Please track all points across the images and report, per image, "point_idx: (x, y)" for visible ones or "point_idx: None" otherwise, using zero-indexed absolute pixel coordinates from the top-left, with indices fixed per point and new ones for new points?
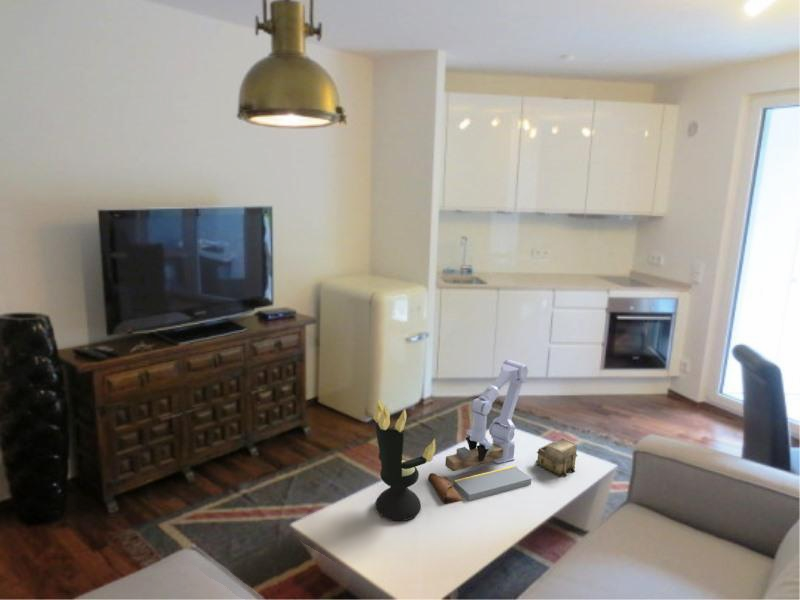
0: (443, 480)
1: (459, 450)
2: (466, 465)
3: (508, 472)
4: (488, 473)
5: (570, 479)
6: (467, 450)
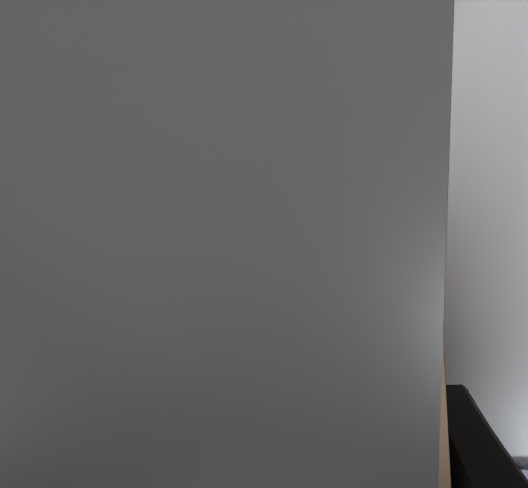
0: None
1: (8, 8)
2: None
3: None
4: None
5: None
6: (32, 469)
